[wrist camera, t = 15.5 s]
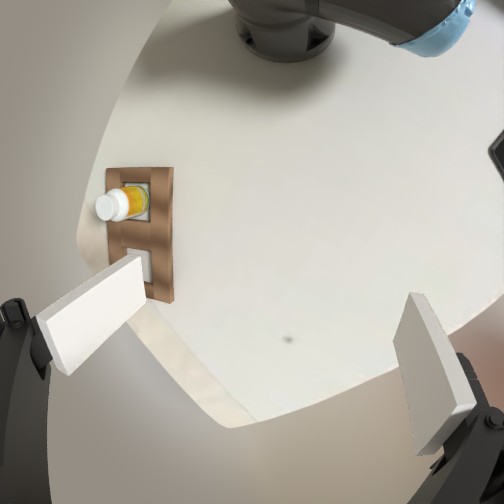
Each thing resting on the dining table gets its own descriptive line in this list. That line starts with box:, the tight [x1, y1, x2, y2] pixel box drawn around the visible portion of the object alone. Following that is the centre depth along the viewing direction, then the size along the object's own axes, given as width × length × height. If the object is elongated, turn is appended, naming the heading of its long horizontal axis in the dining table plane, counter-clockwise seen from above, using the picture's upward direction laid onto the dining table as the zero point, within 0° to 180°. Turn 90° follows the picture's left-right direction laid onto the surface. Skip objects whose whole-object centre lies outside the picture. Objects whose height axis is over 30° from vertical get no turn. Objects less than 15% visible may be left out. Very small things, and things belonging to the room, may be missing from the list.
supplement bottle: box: [96, 186, 150, 222], centre depth 42 cm, size 5×5×10 cm
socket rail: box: [106, 167, 174, 303], centre depth 48 cm, size 24×14×2 cm, turn 176°
